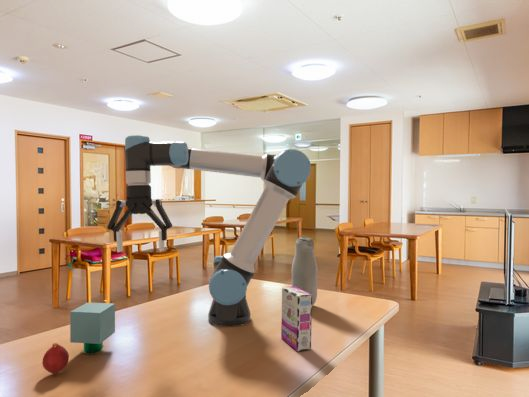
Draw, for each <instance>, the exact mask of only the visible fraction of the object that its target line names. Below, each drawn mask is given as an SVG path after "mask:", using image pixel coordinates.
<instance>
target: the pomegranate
mask: <svg viewBox="0 0 529 397" xmlns="http://www.w3.org/2000/svg"><path fill="white" fill-rule="evenodd" d="M69 358H70V355H69V352H68V350H67V349H66V348H65V346H62V345H61V344H58V342H54V343H53V344H52V345H51V347H50V348H48V350H46V352H45V353H44V355H43V357H42V367H43V369H44V370H45V371H46V372H49V373H51V374H52V375H54V376H55V375H58V374H60V373H61V371H63V370H64V369H65V368H66V367H67V365H68V363H69Z"/></svg>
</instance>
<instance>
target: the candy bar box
mask: <svg viewBox="0 0 529 397" xmlns="http://www.w3.org/2000/svg"><path fill="white" fill-rule="evenodd" d="M312 318H313V305H312V295H311V294H309V293H307V292H305V291H303V290H301V289H299V288H297V287H292V286H286V287H282V288H281V329H280V330H281V331H280V332H281V334H280V335H281V336H280V337H281V338H280V339H281V340H282V341H284V342H285V343H286V345H287V344H288V346H289V347H291V348H293V349H294V350H295V351H296V352H298V353H299V352H304V351H311V349H312Z"/></svg>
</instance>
